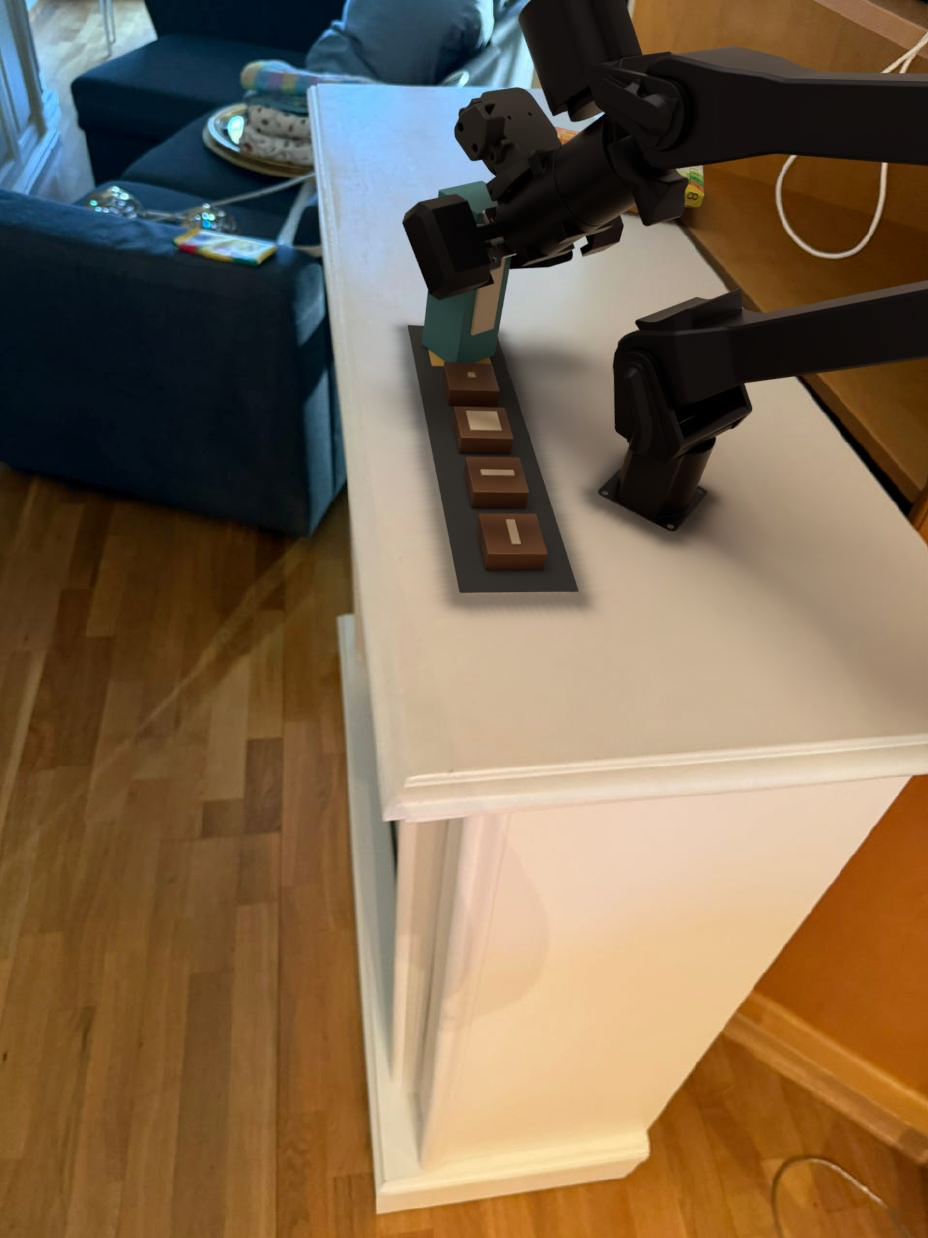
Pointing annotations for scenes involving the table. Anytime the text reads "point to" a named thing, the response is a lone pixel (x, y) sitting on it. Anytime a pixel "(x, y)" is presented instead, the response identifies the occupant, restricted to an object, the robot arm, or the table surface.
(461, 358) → the teal tall rectangular block
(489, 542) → the tile
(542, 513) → the word mat
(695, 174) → the puzzle game
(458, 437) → the tile
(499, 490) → the tile
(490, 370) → the tile
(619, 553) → the table surface
